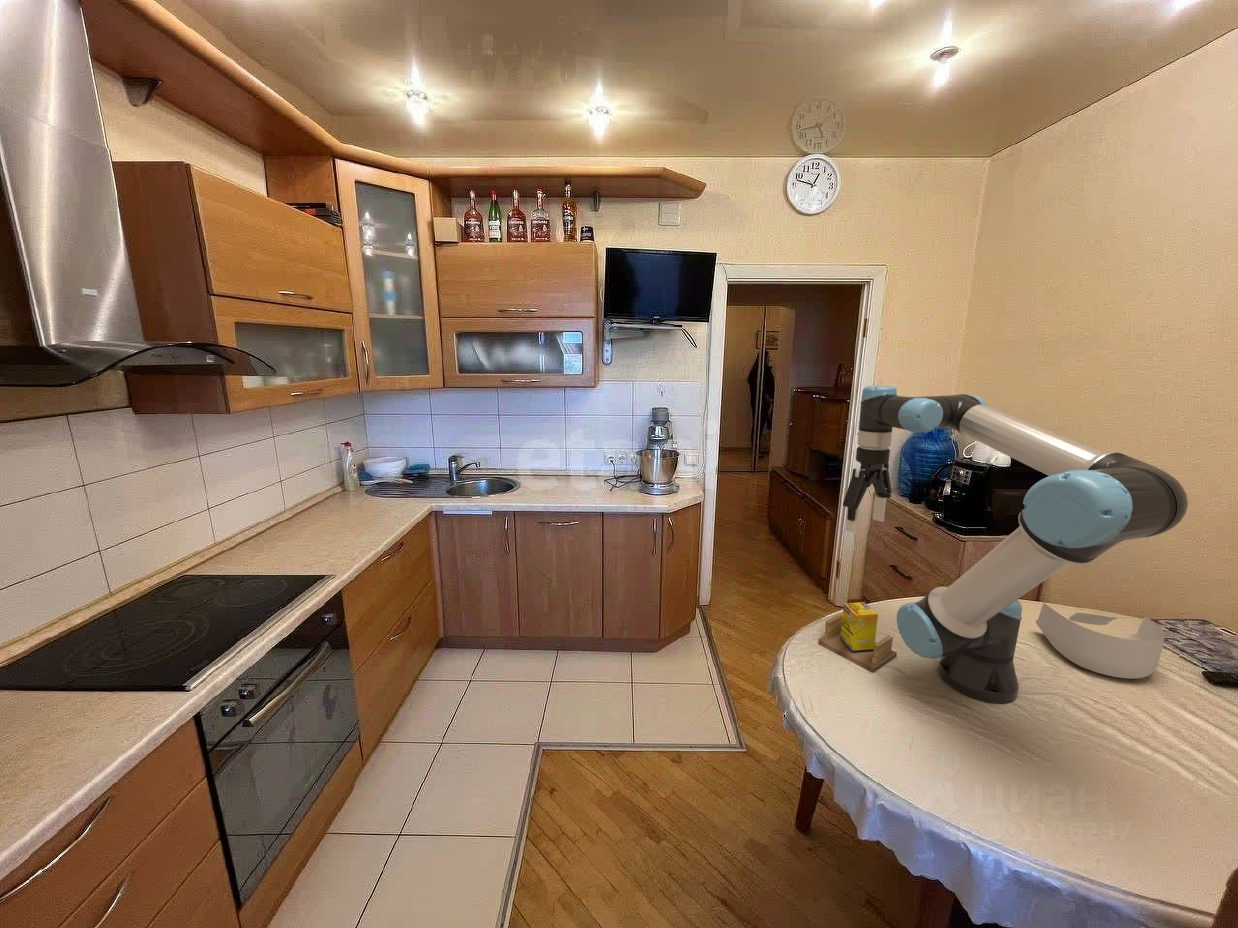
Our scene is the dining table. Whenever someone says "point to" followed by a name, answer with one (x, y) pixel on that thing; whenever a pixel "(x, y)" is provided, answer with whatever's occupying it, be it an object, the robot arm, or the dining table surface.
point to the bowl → (1103, 644)
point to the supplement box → (858, 627)
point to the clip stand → (863, 659)
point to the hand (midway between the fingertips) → (865, 525)
